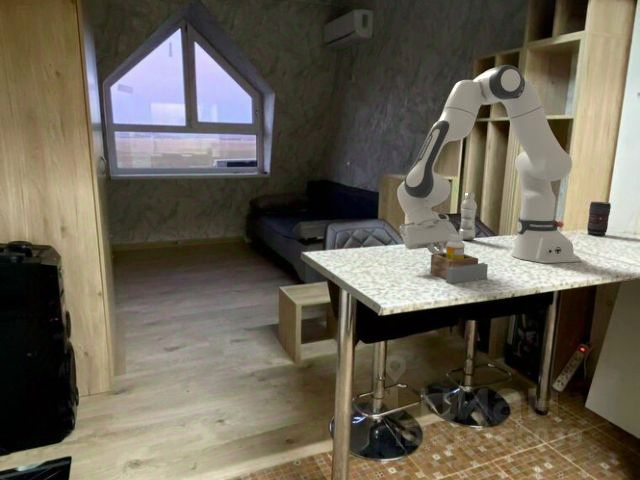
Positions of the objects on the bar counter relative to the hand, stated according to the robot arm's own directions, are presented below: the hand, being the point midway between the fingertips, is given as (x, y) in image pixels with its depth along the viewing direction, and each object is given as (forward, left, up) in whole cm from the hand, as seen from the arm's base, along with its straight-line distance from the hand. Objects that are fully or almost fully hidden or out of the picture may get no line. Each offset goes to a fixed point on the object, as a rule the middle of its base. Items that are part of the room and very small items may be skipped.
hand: (440, 256), depth 152 cm
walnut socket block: (-3, +6, -5) cm, 8 cm away
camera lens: (-87, -62, -5) cm, 107 cm away
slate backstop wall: (-5, +11, -5) cm, 13 cm away
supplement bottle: (-3, +6, -2) cm, 7 cm away
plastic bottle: (-24, -49, -5) cm, 54 cm away
